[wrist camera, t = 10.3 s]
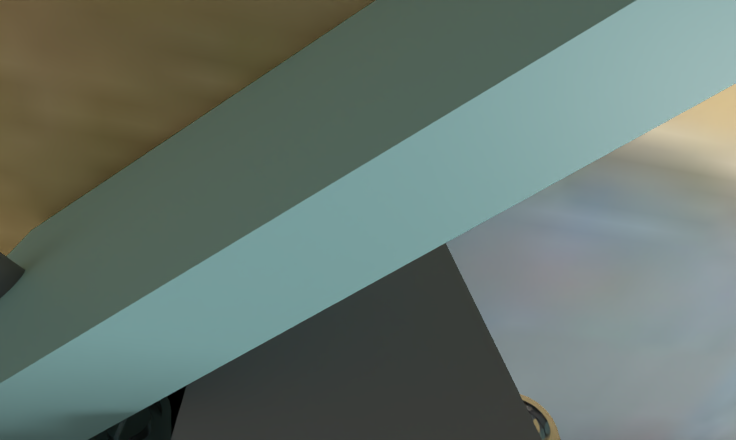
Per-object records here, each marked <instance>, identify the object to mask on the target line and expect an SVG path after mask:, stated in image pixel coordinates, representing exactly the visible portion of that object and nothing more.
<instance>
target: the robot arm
mask: <svg viewBox="0 0 736 440" xmlns="http://www.w3.org/2000/svg"><path fill="white" fill-rule="evenodd" d="M186 386H187V385H186ZM186 386H184V387H183V388H181V389H179V390H177V391H175V392H173V393H172V394H170V395H168V396H166V397H164V398H163V399H161V400H159V401H157V402H155V403H153V404H152V405H150V406H148V407H146V408H144V409H143V410H141V411H139V412H137V413H135V414H133V415H132V416H130V417H128V418H126V419H124V420H123V421H121V422H119V423H117V424H115V425H113V426H112V427H110V428H108V429H106V430H104V431H103V432H101V433H99V434H97V435H95V436H93V437H92V438H90V439H88V440H171V437H172V434H173V430H174V427H175V423H176V420H177V417H178V413H179V410H180V406H181V403H182V400H183V396H184V393H185V389H186ZM520 396H521V398H522V400H523V402H524V404H525V406H526V408H527V410H528V412H529V414H530V416H531V418H532V420H533V422H534V424H535V426H536V428H537V430H538V432H539V434H540V437H541V439H542V440H560V437H559V434H558V430H557V427H556V425H555V423H554V421H553V419H552V417H551V416H550V415H549V413H548V412H547V411H546V410H545V409H544V408H543V407H542V406H541V405H540V404H538V403H537V402H536V401H534V400H532V399H530V398H529V397H526V396H524V395H521V394H520Z"/></svg>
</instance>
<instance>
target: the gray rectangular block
mask: <svg viewBox="0 0 736 440" xmlns="http://www.w3.org/2000/svg"><path fill="white" fill-rule="evenodd" d="M171 440H542V439H541V437H540V434H539V432H538V430H537V428H536V426H535V424H534V422H533V420H532V418H531V416H530V414H529V412H528V410H527V408H526V406H525V404H524V402H523V400H522V398H521V396H520V394H519V392H518V390H517V388H516V386H515V384H514V382H513V380H512V377H511V375H510V373H509V371H508V369H507V367H506V365H505V363H504V361H503V359H502V357H501V355H500V353H499V351H498V349H497V347H496V345H495V343H494V341H493V339H492V337H491V335H490V333H489V331H488V329H487V327H486V325H485V323H484V321H483V318H482V316H481V314H480V312H479V310H478V308H477V306H476V304H475V302H474V300H473V298H472V296H471V294H470V292H469V290H468V288H467V286H466V284H465V282H464V280H463V278H462V276H461V274H460V272H459V270H458V268H457V266H456V264H455V261H454V259H453V257H452V255H451V253H450V251H449V249H448V247H447V245H446V243H444V244H443V245H441V246H439V247H437V248H435V249H434V250H432V251H430V252H428V253H426V254H424V255H423V256H421V257H419V258H417V259H415V260H414V261H412V262H410V263H408V264H406V265H404V266H403V267H401V268H399V269H397V270H395V271H394V272H392V273H390V274H388V275H386V276H384V277H383V278H381V279H379V280H377V281H375V282H374V283H372V284H370V285H368V286H366V287H364V288H363V289H361V290H359V291H357V292H355V293H354V294H352V295H350V296H348V297H346V298H344V299H343V300H341V301H339V302H337V303H335V304H334V305H332V306H330V307H328V308H326V309H324V310H323V311H321V312H319V313H317V314H315V315H314V316H312V317H310V318H308V319H306V320H304V321H303V322H301V323H299V324H297V325H295V326H294V327H292V328H290V329H288V330H286V331H284V332H283V333H281V334H279V335H277V336H275V337H274V338H272V339H270V340H268V341H266V342H264V343H263V344H261V345H259V346H257V347H255V348H254V349H252V350H250V351H248V352H246V353H244V354H243V355H241V356H239V357H237V358H235V359H234V360H232V361H230V362H228V363H226V364H224V365H223V366H221V367H219V368H217V369H215V370H214V371H212V372H210V373H208V374H206V375H204V376H203V377H201V378H199V379H197V380H195V381H193V382H192V383H190V384H188V385H187V386H186V389H185V393H184V396H183V400H182V403H181V406H180V410H179V413H178V417H177V420H176V423H175V427H174V430H173V434H172V437H171Z"/></svg>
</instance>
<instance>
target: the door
mask: <svg viewBox="0 0 736 440" xmlns="http://www.w3.org/2000/svg"><path fill="white" fill-rule="evenodd" d="M734 84H736V0H375V1H374V2H372V3H371V4H369V5H368V6H366V7H365V8H363V9H362V10H360V11H359V12H357V13H356V14H354V15H353V16H351V17H350V18H348V19H347V20H345V21H344V22H342V23H341V24H339V25H338V26H336V27H335V28H333V29H332V30H330V31H329V32H327V33H326V34H324V35H323V36H321V37H320V38H318V39H317V40H315V41H314V42H312V43H311V44H310V45H308V46H307V47H305V48H304V49H302V50H301V51H299V52H298V53H296V54H295V55H293V56H292V57H290V58H289V59H287V60H286V61H284V62H283V63H281V64H280V65H278V66H277V67H275V68H274V69H272V70H271V71H269V72H268V73H266V74H265V75H263V76H262V77H260V78H259V79H257V80H256V81H254V82H253V83H251V84H250V85H248V86H247V87H245V88H244V89H242V90H241V91H239V92H238V93H236V94H235V95H233V96H232V97H230V98H229V99H227V100H226V101H224V102H223V103H221V104H220V105H218V106H217V107H215V108H214V109H212V110H211V111H209V112H208V113H206V114H205V115H203V116H202V117H200V118H199V119H197V120H196V121H194V122H193V123H191V124H190V125H188V126H187V127H185V128H184V129H182V130H181V131H179V132H178V133H176V134H175V135H173V136H172V137H170V138H169V139H167V140H166V141H164V142H163V143H161V144H160V145H158V146H157V147H155V148H154V149H152V150H151V151H149V152H148V153H146V154H145V155H143V156H142V157H140V158H139V159H137V160H136V161H134V162H133V163H131V164H130V165H128V166H127V167H125V168H124V169H122V170H121V171H119V172H118V173H116V174H115V175H113V176H112V177H110V178H109V179H107V180H106V181H104V182H103V183H101V184H100V185H98V186H97V187H96V188H94V189H93V190H91V191H90V192H88V193H87V194H85V195H84V196H82V197H81V198H79V199H78V200H76V201H75V202H73V203H72V204H70V205H69V206H67V207H66V208H64V209H63V210H61V211H60V212H58V213H57V214H55V215H54V216H52V217H51V218H49V219H48V220H46V221H45V222H43V223H42V224H40V225H39V226H37V227H36V228H34V229H33V230H31V231H30V232H29V233H28V234H27V235H26V236H25V237H24V239H23V240H22V241H21V242H20V243H19V244H18V245H17V246H16V247H15V248H14V249H13V250H12V251H11V252H10V253H9V254H8V255H7V256H5V255H3V254H2V253H1V252H0V440H88V439H90V438H92V437H93V436H95V435H97V434H99V433H101V432H103V431H104V430H106V429H108V428H110V427H112V426H113V425H115V424H117V423H119V422H121V421H123V420H124V419H126V418H128V417H130V416H132V415H133V414H135V413H137V412H139V411H141V410H143V409H144V408H146V407H148V406H150V405H152V404H153V403H155V402H157V401H159V400H161V399H163V398H164V397H166V396H168V395H170V394H172V393H173V392H175V391H177V390H179V389H181V388H183V387H184V386H186V385H188V384H190V383H192V382H193V381H195V380H197V379H199V378H201V377H203V376H204V375H206V374H208V373H210V372H212V371H214V370H215V369H217V368H219V367H221V366H223V365H224V364H226V363H228V362H230V361H232V360H234V359H235V358H237V357H239V356H241V355H243V354H244V353H246V352H248V351H250V350H252V349H254V348H255V347H257V346H259V345H261V344H263V343H264V342H266V341H268V340H270V339H272V338H274V337H275V336H277V335H279V334H281V333H283V332H284V331H286V330H288V329H290V328H292V327H294V326H295V325H297V324H299V323H301V322H303V321H304V320H306V319H308V318H310V317H312V316H314V315H315V314H317V313H319V312H321V311H323V310H324V309H326V308H328V307H330V306H332V305H334V304H335V303H337V302H339V301H341V300H343V299H344V298H346V297H348V296H350V295H352V294H354V293H355V292H357V291H359V290H361V289H363V288H364V287H366V286H368V285H370V284H372V283H374V282H375V281H377V280H379V279H381V278H383V277H384V276H386V275H388V274H390V273H392V272H394V271H395V270H397V269H399V268H401V267H403V266H404V265H406V264H408V263H410V262H412V261H414V260H415V259H417V258H419V257H421V256H423V255H424V254H426V253H428V252H430V251H432V250H434V249H435V248H437V247H439V246H441V245H443V244H444V243H446V242H448V241H450V240H452V239H454V238H455V237H457V236H459V235H461V234H463V233H465V232H466V231H468V230H470V229H472V228H474V227H475V226H477V225H479V224H481V223H483V222H485V221H486V220H488V219H490V218H492V217H494V216H495V215H497V214H499V213H501V212H503V211H505V210H506V209H508V208H510V207H512V206H514V205H515V204H517V203H519V202H521V201H523V200H525V199H526V198H528V197H530V196H532V195H534V194H535V193H537V192H539V191H541V190H543V189H545V188H546V187H548V186H550V185H552V184H554V183H555V182H557V181H559V180H561V179H563V178H565V177H566V176H568V175H570V174H572V173H574V172H575V171H577V170H579V169H581V168H583V167H585V166H586V165H588V164H590V163H592V162H594V161H595V160H597V159H599V158H601V157H603V156H605V155H606V154H608V153H610V152H612V151H614V150H615V149H617V148H619V147H621V146H623V145H625V144H626V143H628V142H630V141H632V140H634V139H635V138H637V137H639V136H641V135H643V134H645V133H646V132H648V131H650V130H652V129H654V128H655V127H657V126H659V125H661V124H663V123H665V122H666V121H668V120H670V119H672V118H674V117H675V116H677V115H679V114H681V113H683V112H685V111H686V110H688V109H690V108H692V107H694V106H695V105H697V104H699V103H701V102H703V101H705V100H706V99H708V98H710V97H712V96H714V95H715V94H717V93H719V92H721V91H723V90H725V89H726V88H728V87H730V86H732V85H734Z"/></svg>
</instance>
